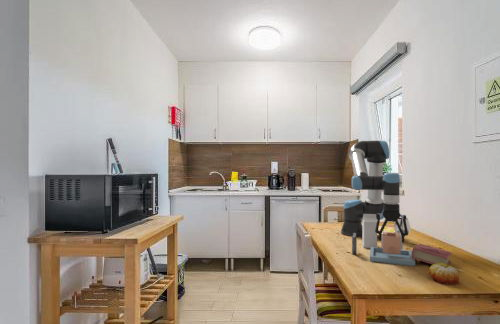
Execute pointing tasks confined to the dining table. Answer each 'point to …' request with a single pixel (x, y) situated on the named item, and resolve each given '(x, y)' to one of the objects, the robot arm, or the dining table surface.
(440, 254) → the book
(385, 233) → the pink window frame
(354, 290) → the dining table surface
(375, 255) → the tray
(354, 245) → the grey t-shaped piece
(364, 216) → the milk carton
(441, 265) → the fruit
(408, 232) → the wineglass
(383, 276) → the dining table surface
